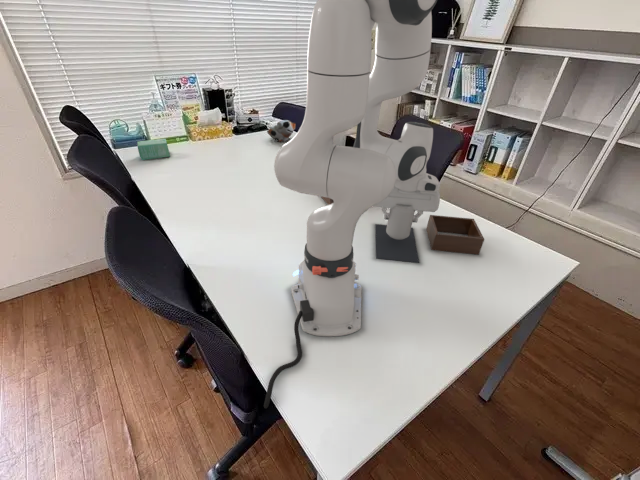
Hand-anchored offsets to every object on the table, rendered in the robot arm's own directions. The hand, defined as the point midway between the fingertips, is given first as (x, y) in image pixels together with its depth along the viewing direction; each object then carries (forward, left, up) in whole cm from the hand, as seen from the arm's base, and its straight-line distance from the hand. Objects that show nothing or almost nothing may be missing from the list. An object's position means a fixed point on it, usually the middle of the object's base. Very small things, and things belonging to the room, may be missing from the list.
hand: (400, 220), depth 103 cm
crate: (0, -19, -9) cm, 21 cm away
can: (0, 0, -6) cm, 6 cm away
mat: (0, 0, -9) cm, 9 cm away
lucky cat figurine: (+111, +39, -9) cm, 118 cm away
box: (+80, +102, -9) cm, 130 cm away
